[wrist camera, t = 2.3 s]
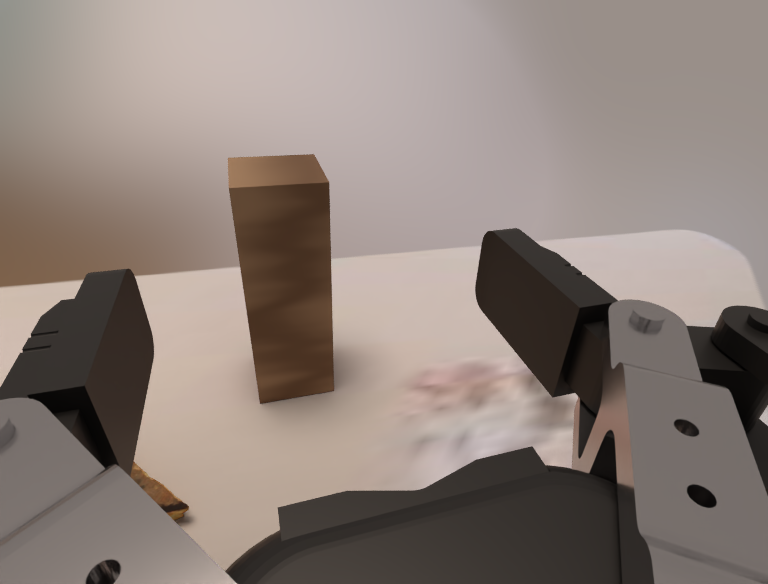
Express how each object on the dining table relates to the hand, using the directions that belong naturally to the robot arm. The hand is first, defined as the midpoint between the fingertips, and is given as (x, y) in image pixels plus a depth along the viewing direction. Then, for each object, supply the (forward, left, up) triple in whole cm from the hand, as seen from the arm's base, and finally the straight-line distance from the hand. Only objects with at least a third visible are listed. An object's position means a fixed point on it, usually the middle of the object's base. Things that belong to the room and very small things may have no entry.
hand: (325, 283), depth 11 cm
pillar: (0, +11, -13) cm, 17 cm away
